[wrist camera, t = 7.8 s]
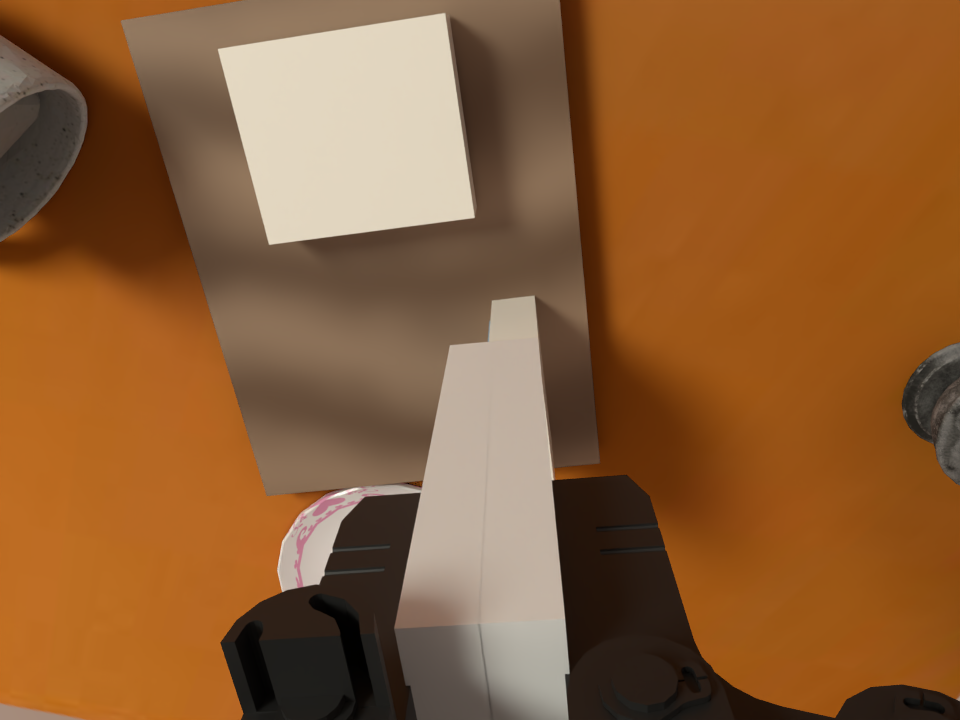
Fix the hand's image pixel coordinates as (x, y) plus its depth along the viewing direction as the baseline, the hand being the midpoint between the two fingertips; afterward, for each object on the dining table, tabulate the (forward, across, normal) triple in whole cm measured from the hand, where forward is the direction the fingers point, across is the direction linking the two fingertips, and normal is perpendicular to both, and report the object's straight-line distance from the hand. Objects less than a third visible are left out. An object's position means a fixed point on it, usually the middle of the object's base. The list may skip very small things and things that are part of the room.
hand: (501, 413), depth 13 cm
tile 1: (+17, -1, +4) cm, 17 cm away
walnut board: (+19, -5, -2) cm, 20 cm away
